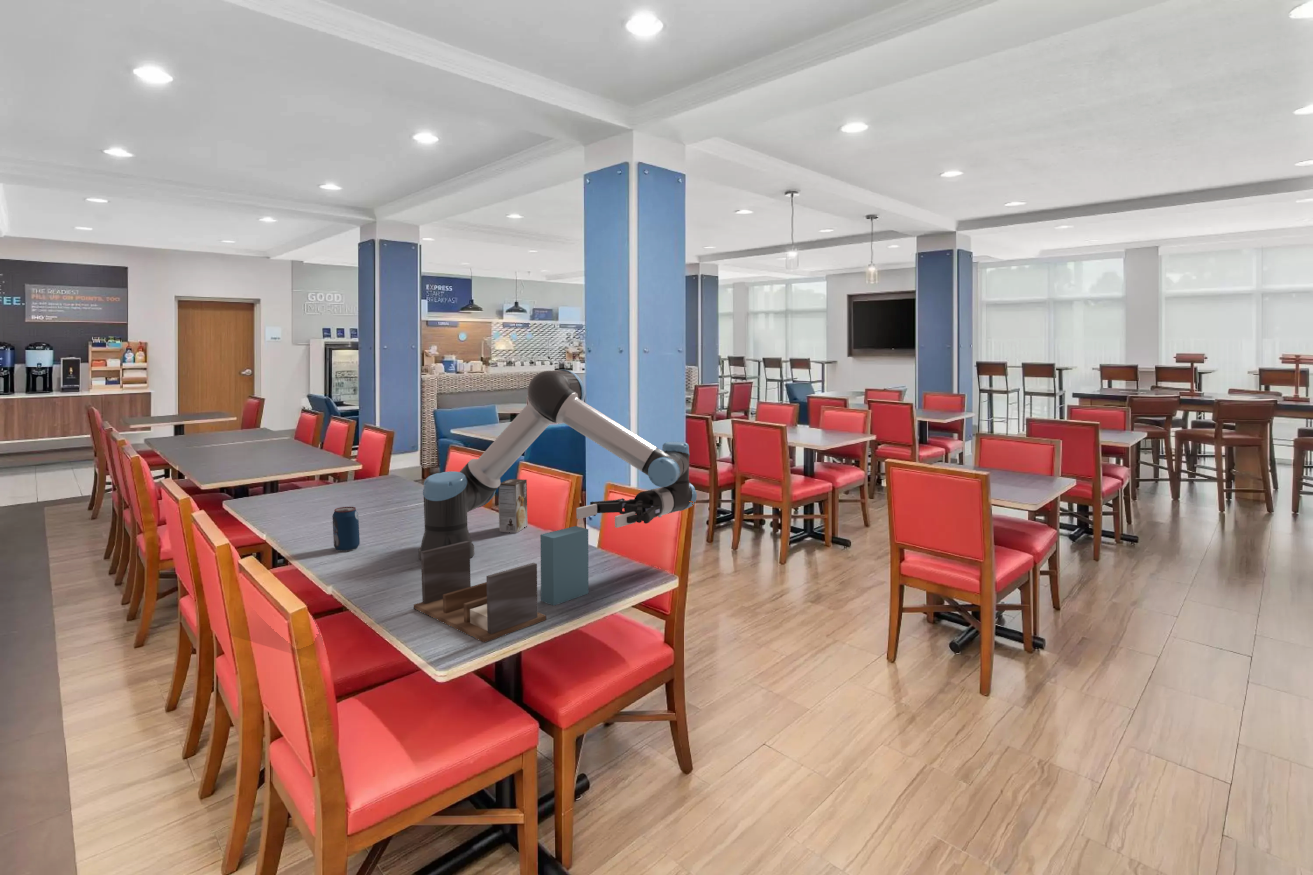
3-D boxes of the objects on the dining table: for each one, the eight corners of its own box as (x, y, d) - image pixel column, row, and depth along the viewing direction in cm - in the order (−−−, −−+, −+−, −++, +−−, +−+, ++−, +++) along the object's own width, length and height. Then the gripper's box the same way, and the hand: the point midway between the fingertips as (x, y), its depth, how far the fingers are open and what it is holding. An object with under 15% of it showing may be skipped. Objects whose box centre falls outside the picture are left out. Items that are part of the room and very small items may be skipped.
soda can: (364, 545, 204) (362, 506, 203) (352, 552, 197) (350, 511, 196) (342, 544, 205) (340, 505, 203) (329, 551, 198) (327, 511, 197)
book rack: (413, 608, 155) (411, 553, 153) (474, 590, 167) (472, 538, 165) (484, 642, 137) (482, 579, 136) (545, 619, 149) (545, 562, 148)
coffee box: (510, 525, 230) (509, 478, 228) (528, 526, 229) (527, 479, 227) (498, 532, 221) (497, 483, 219) (517, 533, 220) (516, 484, 218)
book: (541, 600, 161) (540, 534, 159) (575, 589, 169) (575, 525, 167) (553, 605, 158) (553, 538, 156) (588, 593, 166) (588, 529, 164)
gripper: (689, 524, 177) (633, 541, 161) (619, 510, 193) (562, 524, 177) (689, 496, 176) (633, 510, 160) (619, 484, 192) (562, 496, 176)
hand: (596, 517), depth 168 cm, fingers open, 13 cm apart
